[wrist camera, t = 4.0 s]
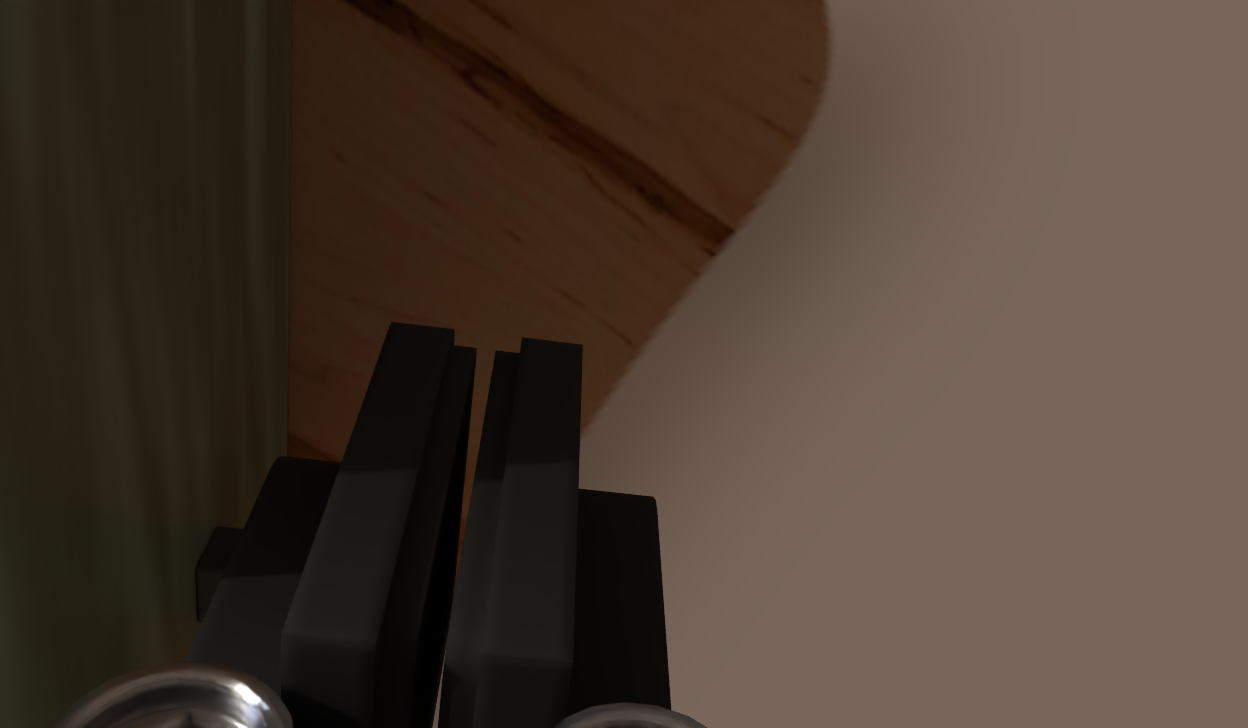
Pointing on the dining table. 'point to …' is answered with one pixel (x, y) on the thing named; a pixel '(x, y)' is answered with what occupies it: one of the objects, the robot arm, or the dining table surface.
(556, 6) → the dining table surface
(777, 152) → the dining table surface
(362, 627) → the robot arm
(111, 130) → the cupboard door
